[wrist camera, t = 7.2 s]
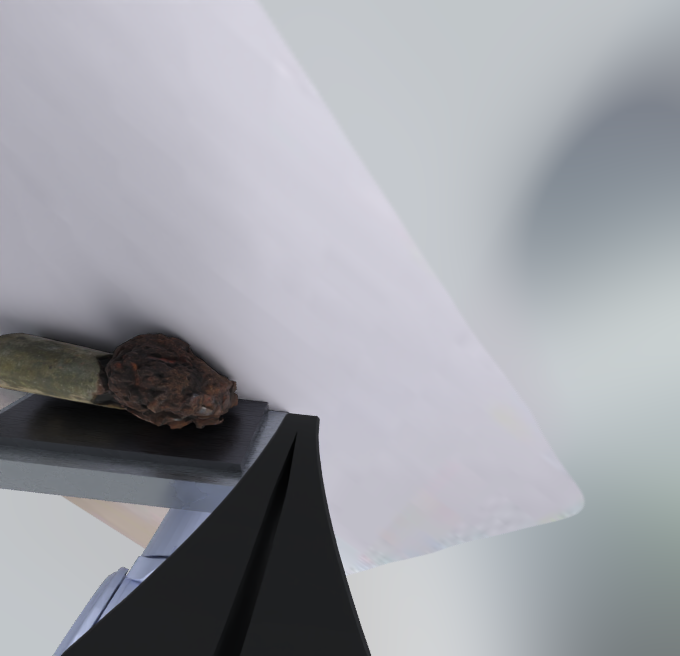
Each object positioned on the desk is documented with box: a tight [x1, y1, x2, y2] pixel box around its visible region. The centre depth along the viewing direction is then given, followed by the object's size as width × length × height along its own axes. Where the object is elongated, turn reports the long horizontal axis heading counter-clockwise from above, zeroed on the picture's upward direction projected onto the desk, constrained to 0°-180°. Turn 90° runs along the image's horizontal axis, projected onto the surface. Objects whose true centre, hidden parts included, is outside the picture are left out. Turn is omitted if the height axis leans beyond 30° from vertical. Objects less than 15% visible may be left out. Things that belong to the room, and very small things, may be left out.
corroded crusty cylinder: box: [0, 333, 238, 429], centre depth 19 cm, size 18×7×6 cm, turn 80°
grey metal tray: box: [0, 393, 288, 513], centre depth 21 cm, size 5×24×7 cm, turn 85°
